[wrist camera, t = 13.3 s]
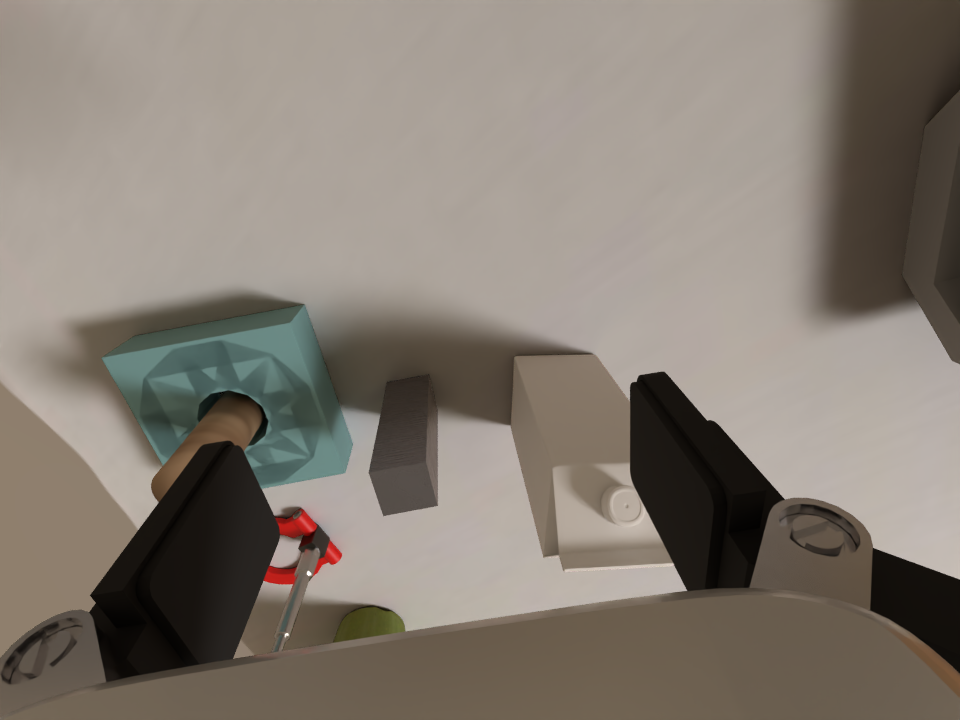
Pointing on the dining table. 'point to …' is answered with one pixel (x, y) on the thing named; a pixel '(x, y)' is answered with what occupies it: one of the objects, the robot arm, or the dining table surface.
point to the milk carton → (580, 465)
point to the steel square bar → (406, 447)
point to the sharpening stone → (938, 228)
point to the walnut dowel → (213, 435)
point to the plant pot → (368, 624)
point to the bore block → (239, 390)
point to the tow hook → (300, 568)
